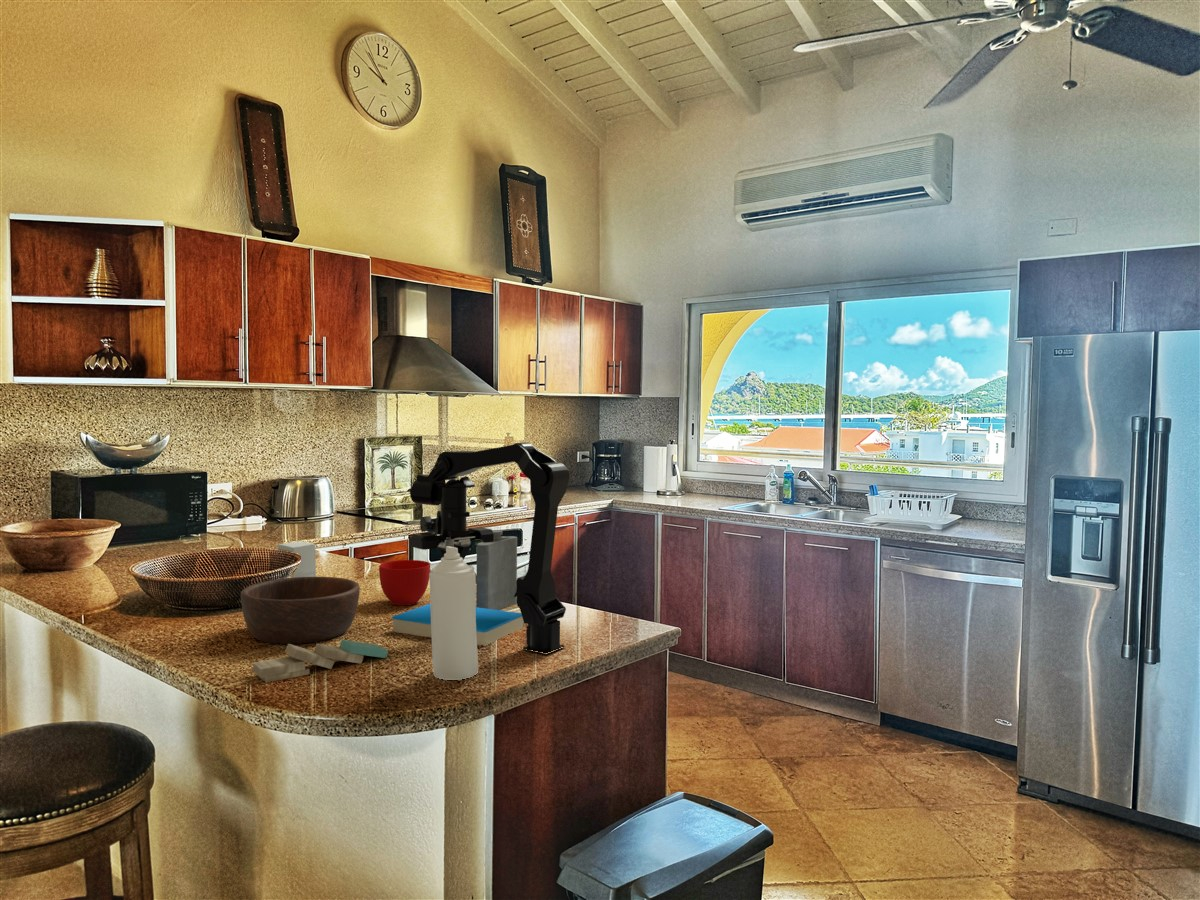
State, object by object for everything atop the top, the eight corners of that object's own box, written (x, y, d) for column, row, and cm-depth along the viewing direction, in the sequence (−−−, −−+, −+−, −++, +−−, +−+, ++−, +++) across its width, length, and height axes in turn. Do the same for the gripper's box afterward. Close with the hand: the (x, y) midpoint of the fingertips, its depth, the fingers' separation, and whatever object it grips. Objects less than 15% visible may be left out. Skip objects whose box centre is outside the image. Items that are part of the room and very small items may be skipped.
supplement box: (300, 584, 230) (300, 540, 230) (316, 588, 226) (316, 543, 225) (277, 589, 224) (276, 543, 224) (292, 593, 220) (292, 546, 219)
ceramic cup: (443, 595, 220) (443, 558, 220) (418, 609, 203) (418, 570, 203) (398, 592, 222) (398, 556, 222) (370, 607, 206) (370, 568, 205)
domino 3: (325, 655, 161) (288, 643, 156) (334, 661, 157) (296, 649, 152) (322, 663, 160) (284, 651, 156) (331, 669, 156) (292, 657, 152)
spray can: (493, 679, 152) (494, 547, 151) (441, 690, 146) (441, 552, 145) (466, 663, 161) (467, 538, 160) (415, 672, 155) (416, 543, 154)
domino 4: (353, 649, 164) (316, 643, 159) (363, 655, 160) (326, 649, 155) (350, 657, 164) (313, 651, 159) (361, 663, 160) (323, 657, 155)
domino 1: (296, 655, 157) (252, 662, 152) (305, 661, 153) (261, 669, 148) (296, 663, 157) (253, 671, 152) (305, 669, 153) (261, 677, 148)
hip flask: (484, 616, 198) (485, 535, 197) (470, 614, 199) (471, 534, 198) (518, 603, 212) (519, 527, 211) (505, 601, 214) (506, 526, 213)
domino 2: (300, 662, 157) (257, 670, 152) (309, 669, 154) (265, 677, 148) (300, 670, 157) (257, 679, 152) (309, 677, 154) (265, 686, 148)
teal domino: (386, 658, 164) (350, 653, 159) (374, 652, 168) (339, 647, 162) (388, 650, 164) (352, 645, 159) (376, 644, 168) (341, 639, 163)
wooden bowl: (226, 651, 168) (225, 601, 167) (257, 619, 192) (257, 577, 192) (351, 647, 171) (351, 599, 171) (366, 617, 196) (366, 575, 196)
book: (485, 630, 173) (391, 615, 183) (485, 650, 173) (390, 634, 183) (525, 612, 188) (436, 599, 198) (525, 630, 189) (435, 616, 199)
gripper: (469, 501, 193) (468, 565, 194) (398, 506, 181) (398, 575, 182) (496, 505, 185) (495, 573, 186) (423, 511, 173) (423, 584, 173)
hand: (453, 576), depth 182 cm, fingers closed
